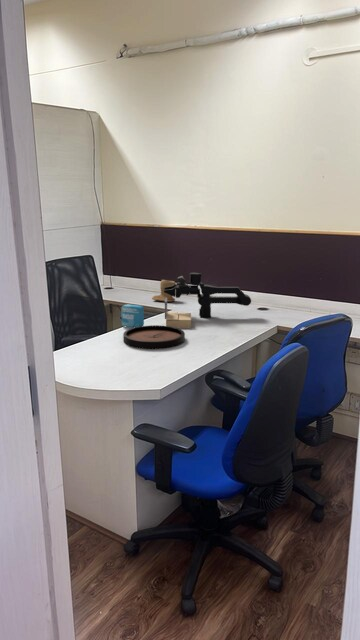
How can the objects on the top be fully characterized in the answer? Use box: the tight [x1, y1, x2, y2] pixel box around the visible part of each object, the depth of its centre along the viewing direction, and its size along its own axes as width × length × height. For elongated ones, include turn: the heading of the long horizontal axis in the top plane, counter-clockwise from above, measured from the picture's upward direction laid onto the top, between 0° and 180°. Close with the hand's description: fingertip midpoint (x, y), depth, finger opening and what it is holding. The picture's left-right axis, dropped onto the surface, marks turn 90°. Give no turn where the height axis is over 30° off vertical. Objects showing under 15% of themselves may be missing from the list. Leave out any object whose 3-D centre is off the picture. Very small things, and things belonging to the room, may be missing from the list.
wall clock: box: [122, 324, 186, 350], centre depth 251 cm, size 31×4×31 cm
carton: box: [165, 312, 192, 329], centre depth 282 cm, size 14×18×5 cm
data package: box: [120, 303, 145, 328], centre depth 276 cm, size 12×4×12 cm, turn 69°
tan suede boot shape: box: [151, 279, 176, 303], centre depth 343 cm, size 15×12×15 cm
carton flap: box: [164, 298, 179, 321], centre depth 281 cm, size 7×17×10 cm, turn 179°
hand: (164, 289), depth 297 cm, fingers open, 9 cm apart
